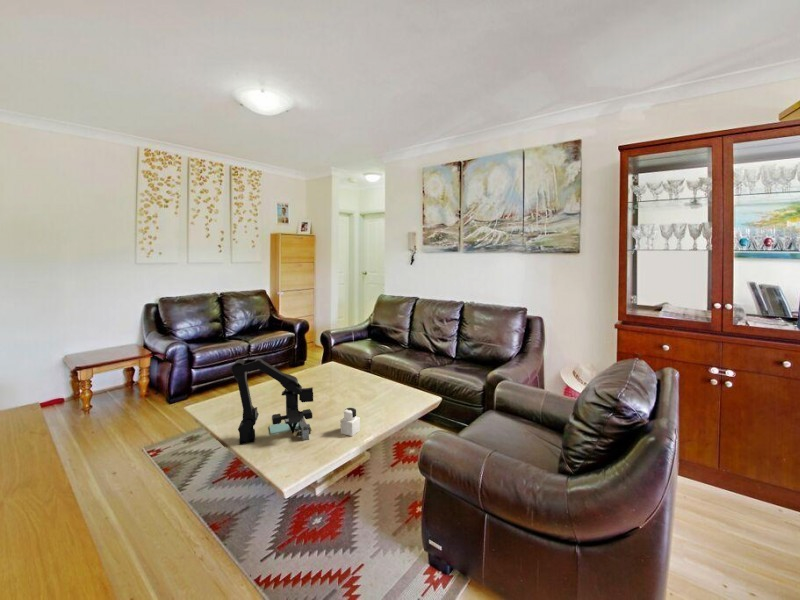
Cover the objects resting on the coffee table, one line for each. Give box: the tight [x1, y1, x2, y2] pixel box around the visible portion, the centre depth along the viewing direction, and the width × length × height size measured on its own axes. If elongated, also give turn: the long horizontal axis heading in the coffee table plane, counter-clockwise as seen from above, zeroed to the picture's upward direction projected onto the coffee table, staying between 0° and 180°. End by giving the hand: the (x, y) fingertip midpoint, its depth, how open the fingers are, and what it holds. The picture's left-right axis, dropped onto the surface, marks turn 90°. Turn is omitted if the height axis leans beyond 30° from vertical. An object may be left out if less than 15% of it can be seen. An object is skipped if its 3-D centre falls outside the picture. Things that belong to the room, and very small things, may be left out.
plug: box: [292, 423, 313, 437], centre depth 182 cm, size 9×4×4 cm, turn 114°
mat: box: [268, 422, 299, 435], centre depth 189 cm, size 14×9×1 cm, turn 114°
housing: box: [298, 417, 310, 441], centre depth 182 cm, size 3×15×5 cm, turn 24°
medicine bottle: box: [340, 407, 361, 437], centre depth 184 cm, size 7×7×12 cm
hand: (292, 433), depth 180 cm, fingers closed
